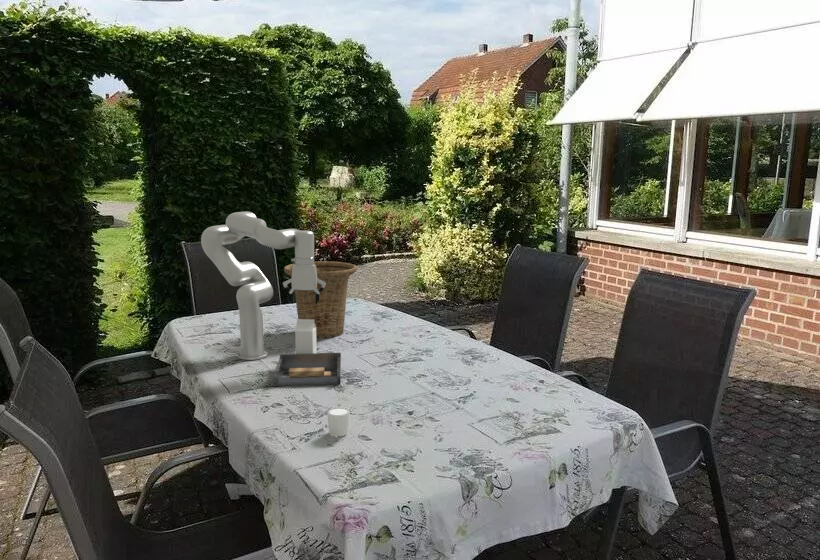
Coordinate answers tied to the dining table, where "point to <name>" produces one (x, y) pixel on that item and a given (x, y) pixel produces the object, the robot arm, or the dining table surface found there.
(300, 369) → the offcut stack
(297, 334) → the milk carton
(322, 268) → the wicker basket
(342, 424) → the white cylinder
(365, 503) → the dining table surface
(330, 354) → the dark grey tray
